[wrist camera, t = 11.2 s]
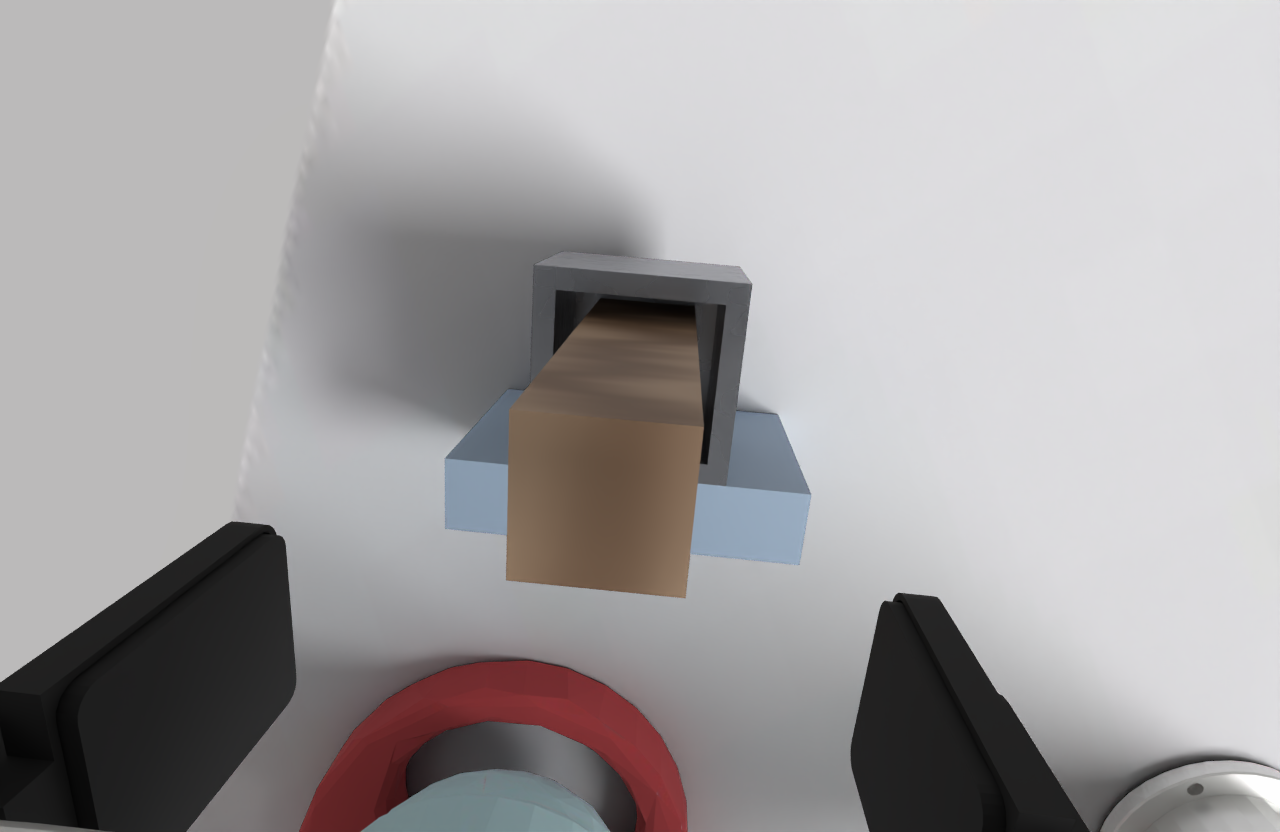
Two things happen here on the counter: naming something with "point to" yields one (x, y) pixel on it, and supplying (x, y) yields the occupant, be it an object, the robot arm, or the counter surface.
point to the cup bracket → (714, 290)
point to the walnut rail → (609, 455)
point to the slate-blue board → (724, 515)
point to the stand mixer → (495, 799)
